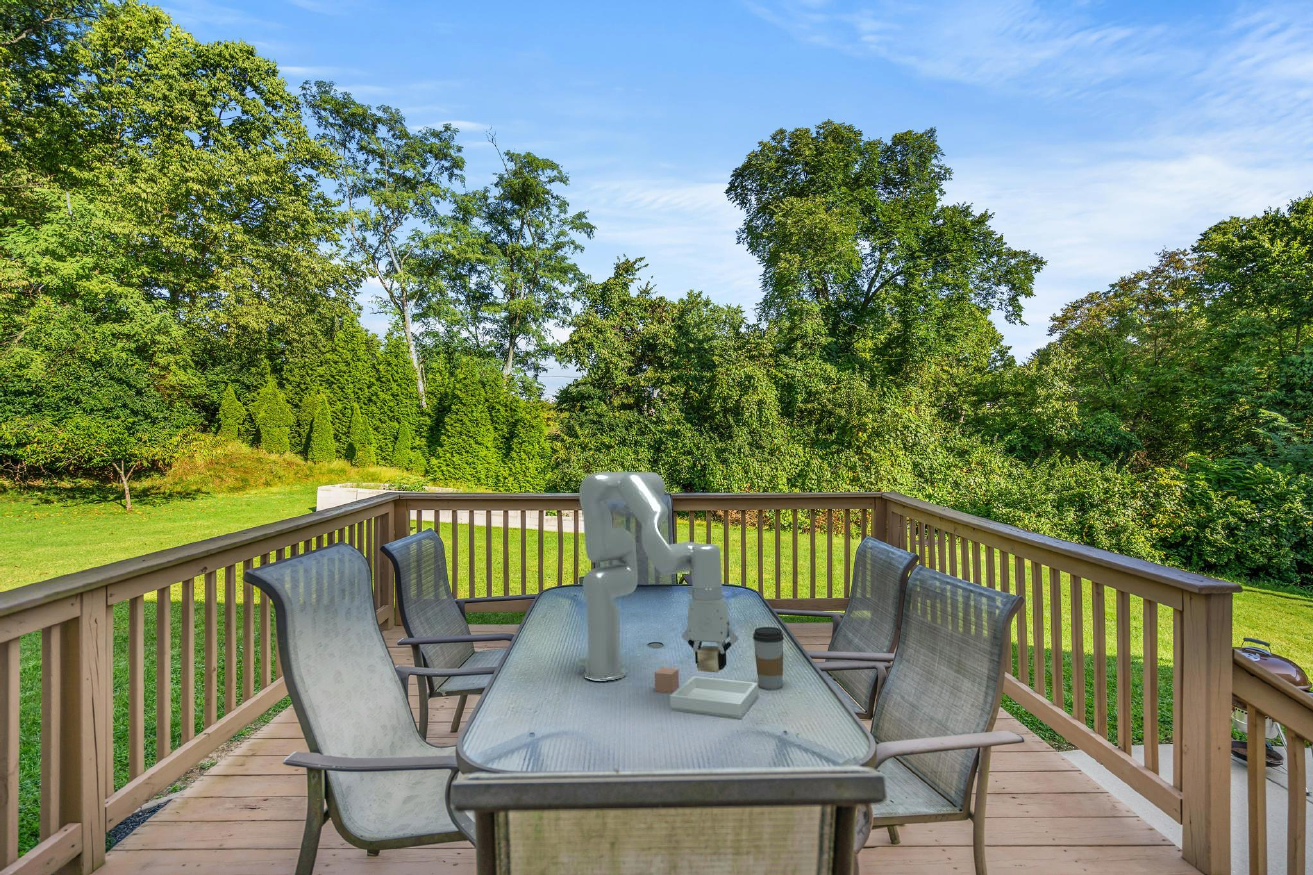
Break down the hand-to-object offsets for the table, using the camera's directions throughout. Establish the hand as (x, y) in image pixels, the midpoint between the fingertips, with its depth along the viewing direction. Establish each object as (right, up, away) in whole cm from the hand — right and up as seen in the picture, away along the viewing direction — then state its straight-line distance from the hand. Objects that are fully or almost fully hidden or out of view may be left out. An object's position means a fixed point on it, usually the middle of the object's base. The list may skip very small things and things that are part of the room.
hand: (711, 666), depth 156 cm
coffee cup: (+17, -11, +14) cm, 25 cm away
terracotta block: (-11, -11, +14) cm, 21 cm away
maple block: (0, 0, 0) cm, 1 cm away
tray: (+1, -10, +2) cm, 11 cm away
